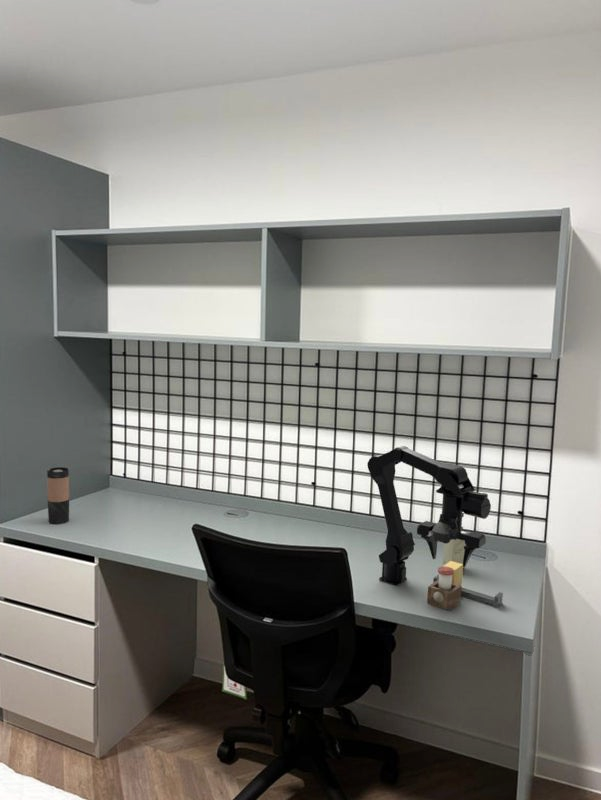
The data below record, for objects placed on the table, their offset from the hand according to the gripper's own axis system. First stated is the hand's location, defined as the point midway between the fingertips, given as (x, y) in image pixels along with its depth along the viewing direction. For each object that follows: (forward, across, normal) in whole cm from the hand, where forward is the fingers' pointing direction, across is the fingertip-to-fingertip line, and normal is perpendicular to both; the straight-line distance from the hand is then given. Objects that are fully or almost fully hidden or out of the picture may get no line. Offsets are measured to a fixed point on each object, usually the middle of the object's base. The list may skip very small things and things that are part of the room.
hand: (448, 562), depth 185 cm
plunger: (+8, 0, -2) cm, 8 cm away
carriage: (+11, -1, +6) cm, 13 cm away
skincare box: (+11, -8, +24) cm, 27 cm away
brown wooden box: (+11, 0, -2) cm, 11 cm away
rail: (+11, +4, +6) cm, 13 cm away
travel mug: (+11, -142, -32) cm, 146 cm away
